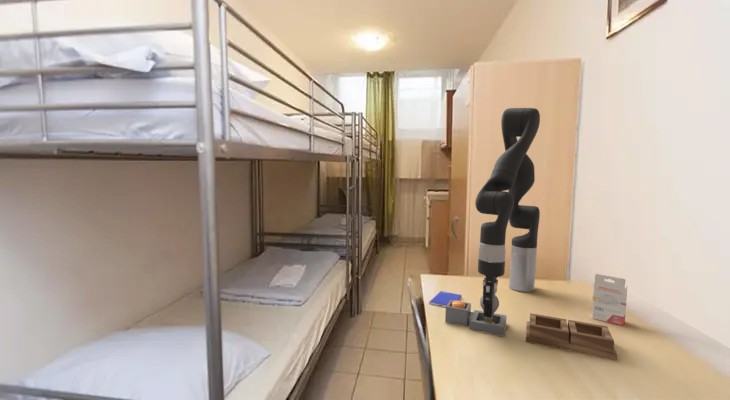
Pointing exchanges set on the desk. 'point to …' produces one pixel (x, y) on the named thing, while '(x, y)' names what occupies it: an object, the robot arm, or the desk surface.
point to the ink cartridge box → (609, 299)
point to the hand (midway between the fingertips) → (488, 312)
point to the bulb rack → (571, 335)
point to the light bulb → (494, 307)
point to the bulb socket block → (475, 319)
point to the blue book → (444, 298)
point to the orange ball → (458, 304)
